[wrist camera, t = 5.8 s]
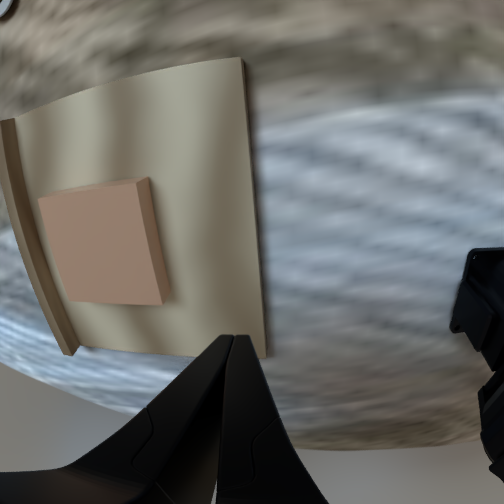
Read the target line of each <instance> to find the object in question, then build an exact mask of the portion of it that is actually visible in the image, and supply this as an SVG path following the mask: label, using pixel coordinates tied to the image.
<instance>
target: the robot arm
mask: <svg viewBox="0 0 504 504" xmlns="http://www.w3.org/2000/svg"><path fill="white" fill-rule="evenodd" d="M475 255H477V256H476V258H475V259H473V258H474V256H475ZM450 329H451V331H452V332H453V333H461V332H465V333H466V335H467V337H468V338H469V340H470V342H471V343H472V345H473V347H474V349H475V350H476V351H477V352H480V351H481V353H482V355H483V356H484V358H485V360H486V362H487V363H488V365H489V367H490V369H491V371H492V372H494V371H496V372H495V373H494V375H493V376H492V377H491V378H490V380H489V381H488V382H487V383H486V385H485V386H482V388H481V389H480V390H479V391H478V400H479V408H480V418H481V428H482V431H481V433H480V436H481V441H482V443H483V446H484V450H485V452H486V454H487V456H488V458H489V459H490V460H491V461H492V464H491V465H490V466H489V470H490V471H491V472H492V473H493V474H495V475H496V476H498V477H499V478H500V479H501V480H502V481H503V483H504V247H498V248H475V249H472V250H471V251H470V252H469V254H468V257H467V262H466V266H465V271H464V275H463V279H462V282H461V285H460V289H459V293H458V296H457V300H456V304H455V307H454V311H453V316H452V320H451V323H450ZM146 407H147V408H146ZM146 407H145V408H143V409H142V410H141V411H140V412H139V413H138V414H137V415H136V416H135V417H134V418H132V419H131V420H130V421H129V422H128V423H127V424H126V425H124V426H123V427H122V428H121V429H120V430H118V431H117V432H115V433H114V434H113V435H112V436H110V437H109V438H107V439H106V440H105V441H103V442H102V443H101V444H99V445H98V446H96V447H95V448H94V449H92V450H91V451H89V452H88V453H87V454H85V455H83V456H82V457H81V458H79V459H78V460H76V461H74V462H73V463H71V464H69V465H67V466H64V467H61V468H57V469H51V470H38V471H22V472H0V504H211V501H212V497H213V493H214V489H215V485H216V481H217V493H216V504H329V503H328V502H327V500H326V499H325V497H324V496H323V495H322V493H321V492H320V490H319V489H318V487H317V485H316V484H315V482H314V481H313V479H312V478H311V476H310V474H309V473H308V471H307V470H306V468H305V467H304V465H303V463H302V462H301V460H300V458H299V457H298V455H297V453H296V451H295V449H294V448H293V446H292V444H291V442H290V439H289V437H288V435H287V433H286V430H285V428H284V425H283V423H282V420H281V418H280V415H279V413H278V410H277V408H276V405H275V402H274V400H273V397H272V394H271V392H270V389H269V386H268V384H267V381H266V378H265V376H264V373H263V370H262V367H261V365H260V362H259V359H258V357H257V354H256V351H255V348H254V346H253V343H252V340H251V337H250V335H248V334H237V335H235V336H234V335H233V334H221V335H219V336H218V337H217V338H216V339H215V340H214V341H213V342H212V343H211V344H210V345H209V346H208V347H207V348H206V349H205V350H204V351H203V352H202V353H201V354H200V355H199V356H198V357H197V358H196V359H195V360H194V361H193V362H191V363H190V364H189V365H188V366H187V367H186V368H185V369H184V370H183V371H182V372H181V373H180V374H179V375H178V376H177V377H176V378H175V379H174V380H173V381H172V382H171V383H170V384H169V385H168V386H167V387H166V388H165V389H164V390H162V391H161V392H160V393H159V394H158V395H157V396H156V397H155V398H154V399H153V400H152V401H151V402H150V403H149V404H148V405H147V406H146Z"/></svg>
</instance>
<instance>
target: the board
mask: <svg viewBox="0 0 504 504" xmlns="http://www.w3.org/2000/svg"><path fill="white" fill-rule="evenodd" d="M146 176H148V180H149V186H150V192H151V197H152V203H153V209H154V214H155V219H156V225H157V230H158V235H159V240H160V245H161V249H162V254H163V259H164V263H165V268H166V272H167V277H168V281H169V285H170V290H171V292H170V294H169V296H168V297H167V299H166V301H165V303H164V304H163V305H134V304H110V303H90V302H74V301H69V299H68V296H67V293H66V291H65V288H64V285H63V283H62V280H61V277H60V274H59V271H58V268H57V265H56V262H55V259H54V256H53V253H52V250H51V247H50V243H49V240H48V237H47V233H46V230H45V226H44V222H43V219H42V215H41V211H40V207H39V203H38V199H39V198H40V197H42V196H44V195H46V194H48V193H51V192H53V191H58V190H63V189H69V188H74V187H80V186H86V185H92V184H98V183H104V182H110V181H117V180H124V179H131V178H138V177H146ZM0 179H1V184H2V188H3V193H4V197H5V201H6V205H7V209H8V213H9V217H10V221H11V224H12V228H13V231H14V234H15V238H16V241H17V244H18V247H19V250H20V253H21V256H22V259H23V262H24V265H25V268H26V271H27V273H28V276H29V279H30V281H31V284H32V286H33V289H34V291H35V294H36V296H37V299H38V301H39V304H40V306H41V308H42V311H43V313H44V315H45V317H46V320H47V322H48V324H49V326H50V328H51V330H52V332H53V335H54V337H55V339H56V341H57V343H58V345H59V347H60V349H61V351H62V353H63V354H64V355H68V356H73V355H74V353H75V352H76V351H77V349H78V348H79V346H80V345H82V346H89V347H96V348H104V349H112V350H120V351H129V352H139V353H150V354H161V355H175V356H190V357H198V356H199V355H200V354H201V353H202V352H203V351H204V350H205V349H206V348H207V347H208V346H209V345H210V344H211V343H212V342H213V341H214V340H215V339H216V338H217V337H218V336H219V335H221V334H233V335H234V336H235V335H237V334H248V335H250V337H251V340H252V343H253V346H254V348H255V351H256V354H257V357H258V359H266V355H267V341H266V327H265V314H264V301H263V288H262V275H261V263H260V250H259V238H258V225H257V213H256V201H255V189H254V177H253V165H252V153H251V142H250V130H249V119H248V107H247V96H246V85H245V74H244V63H243V59H242V58H241V57H234V58H226V59H218V60H211V61H205V62H198V63H192V64H187V65H181V66H176V67H171V68H166V69H161V70H157V71H152V72H148V73H144V74H139V75H135V76H132V77H128V78H124V79H120V80H117V81H113V82H110V83H106V84H103V85H100V86H97V87H93V88H90V89H87V90H84V91H81V92H78V93H75V94H73V95H70V96H67V97H64V98H61V99H59V100H56V101H54V102H51V103H48V104H46V105H44V106H41V107H39V108H36V109H34V110H32V111H29V112H27V113H25V114H22V115H20V116H18V117H16V118H12V119H7V120H2V121H0Z"/></svg>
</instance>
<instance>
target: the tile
mask: <svg viewBox="0 0 504 504" xmlns="http://www.w3.org/2000/svg"><path fill="white" fill-rule="evenodd" d="M38 203H39V207H40V211H41V215H42V219H43V222H44V226H45V230H46V233H47V237H48V240H49V243H50V247H51V250H52V253H53V256H54V259H55V262H56V265H57V268H58V271H59V274H60V277H61V280H62V283H63V285H64V288H65V291H66V293H67V296H68V299H69V301H74V302H90V303H110V304H134V305H163V304H164V303H165V301H166V299H167V297H168V296H169V294H170V292H171V290H170V285H169V281H168V277H167V272H166V268H165V263H164V259H163V254H162V249H161V245H160V240H159V235H158V230H157V225H156V219H155V214H154V209H153V203H152V197H151V192H150V186H149V180H148V176H146V177H138V178H131V179H124V180H117V181H110V182H104V183H98V184H92V185H86V186H80V187H74V188H69V189H63V190H58V191H53V192H51V193H48V194H46V195H44V196H42V197H40V198H39V199H38Z"/></svg>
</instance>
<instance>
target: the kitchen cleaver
mask: <svg viewBox="0 0 504 504" xmlns="http://www.w3.org/2000/svg"><path fill="white" fill-rule="evenodd" d="M12 2H13V0H2V2H1V3H0V17H2V16H3V15H4V14H5V13H6V12H7V11H8V9H9V8H10V6H11V4H12Z"/></svg>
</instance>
